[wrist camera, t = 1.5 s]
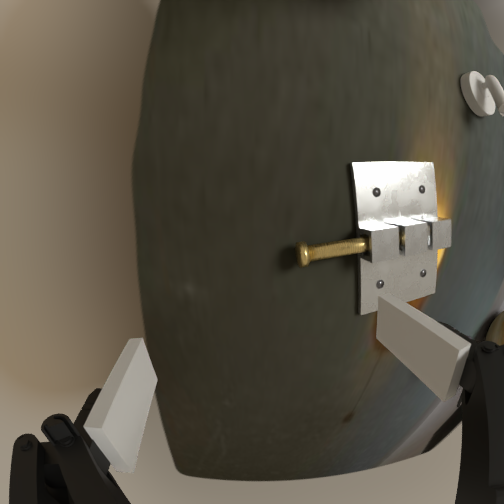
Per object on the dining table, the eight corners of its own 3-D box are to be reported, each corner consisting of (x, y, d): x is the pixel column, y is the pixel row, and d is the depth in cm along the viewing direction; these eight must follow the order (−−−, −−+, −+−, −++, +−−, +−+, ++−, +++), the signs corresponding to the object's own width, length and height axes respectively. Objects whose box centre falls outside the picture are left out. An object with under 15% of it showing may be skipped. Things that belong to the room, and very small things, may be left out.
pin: (294, 240, 31) (301, 244, 29) (404, 224, 33) (417, 227, 30) (296, 264, 32) (303, 270, 29) (404, 245, 33) (417, 248, 31)
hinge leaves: (349, 163, 31) (364, 159, 27) (429, 162, 32) (447, 161, 28) (358, 312, 35) (371, 324, 31) (431, 291, 36) (447, 298, 32)
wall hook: (499, 96, 22) (493, 52, 20) (459, 106, 31) (459, 65, 29) (523, 126, 23) (518, 83, 22) (486, 131, 32) (485, 91, 31)
